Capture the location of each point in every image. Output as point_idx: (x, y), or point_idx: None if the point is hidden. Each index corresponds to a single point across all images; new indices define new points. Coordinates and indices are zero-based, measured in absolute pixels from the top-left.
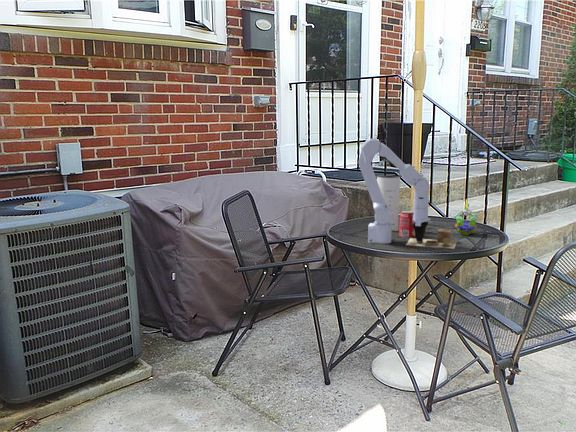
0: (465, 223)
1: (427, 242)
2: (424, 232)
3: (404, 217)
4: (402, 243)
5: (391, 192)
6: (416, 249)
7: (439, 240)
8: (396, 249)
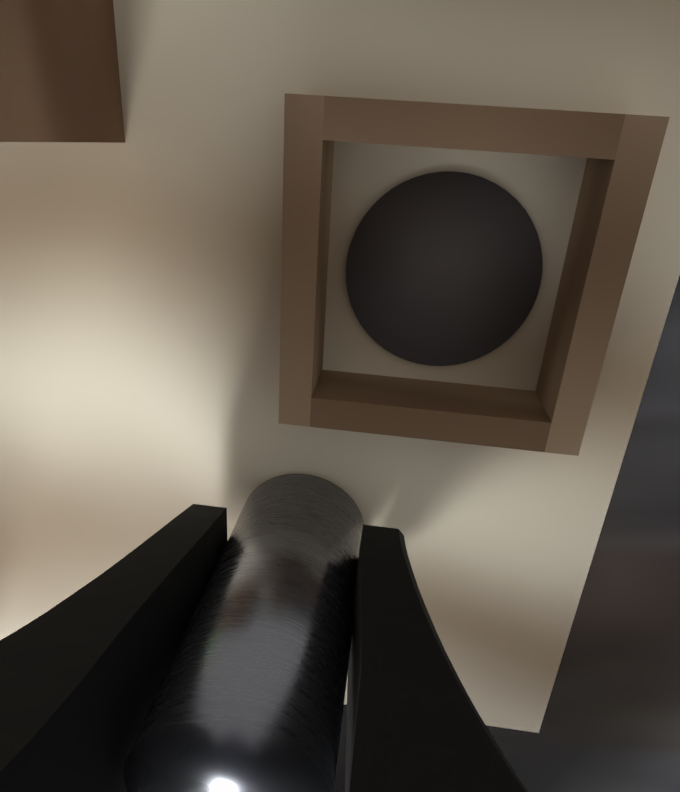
0: None
1: (393, 393)
2: (123, 608)
3: None
4: None
5: None
6: (618, 538)
7: (87, 68)
8: (637, 783)
